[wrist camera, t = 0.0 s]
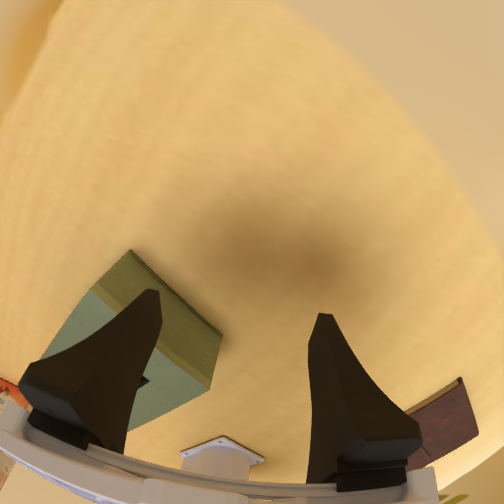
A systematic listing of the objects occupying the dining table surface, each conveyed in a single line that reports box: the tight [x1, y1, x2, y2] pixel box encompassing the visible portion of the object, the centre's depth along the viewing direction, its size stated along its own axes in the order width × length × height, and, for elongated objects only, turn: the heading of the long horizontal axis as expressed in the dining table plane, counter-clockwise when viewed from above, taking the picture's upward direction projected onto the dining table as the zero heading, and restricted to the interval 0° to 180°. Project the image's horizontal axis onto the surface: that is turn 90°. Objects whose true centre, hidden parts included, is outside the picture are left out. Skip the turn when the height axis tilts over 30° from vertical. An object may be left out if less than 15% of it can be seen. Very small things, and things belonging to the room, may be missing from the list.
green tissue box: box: [40, 250, 222, 432], centre depth 25 cm, size 14×11×7 cm
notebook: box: [404, 377, 479, 472], centre depth 32 cm, size 15×20×2 cm
